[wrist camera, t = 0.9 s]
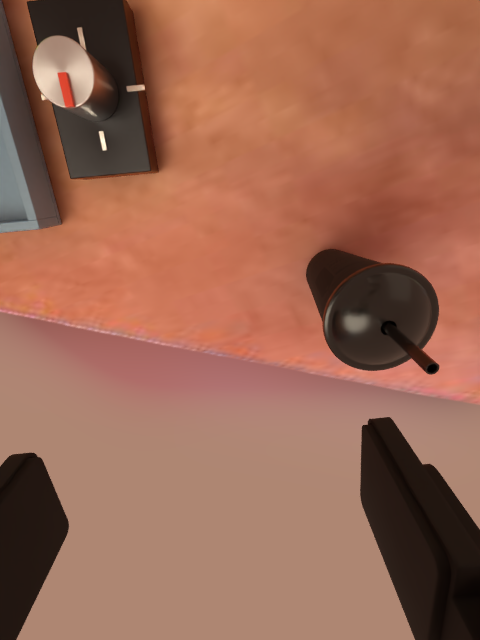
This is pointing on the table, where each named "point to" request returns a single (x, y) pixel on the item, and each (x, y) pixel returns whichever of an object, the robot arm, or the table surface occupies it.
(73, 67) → the control knob
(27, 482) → the robot arm
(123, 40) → the black dial panel
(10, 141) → the tray
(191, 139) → the table surface
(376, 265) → the drinking cup
